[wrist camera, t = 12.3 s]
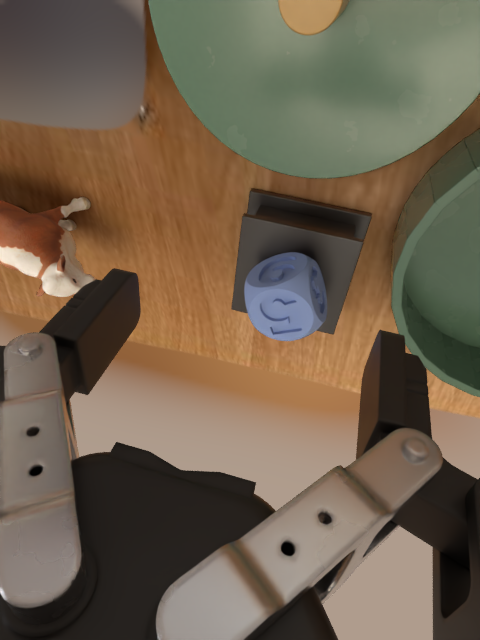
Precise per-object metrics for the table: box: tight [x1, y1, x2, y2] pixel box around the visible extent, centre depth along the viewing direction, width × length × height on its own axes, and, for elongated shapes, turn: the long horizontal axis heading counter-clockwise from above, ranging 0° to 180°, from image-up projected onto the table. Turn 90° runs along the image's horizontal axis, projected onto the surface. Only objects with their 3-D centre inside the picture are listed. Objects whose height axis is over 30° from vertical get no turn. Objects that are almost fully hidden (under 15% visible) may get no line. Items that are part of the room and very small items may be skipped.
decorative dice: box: [244, 252, 327, 341], centre depth 28 cm, size 4×4×4 cm
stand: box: [232, 189, 372, 334], centre depth 30 cm, size 8×8×4 cm
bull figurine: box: [0, 197, 95, 297], centre depth 32 cm, size 4×13×8 cm, turn 76°
